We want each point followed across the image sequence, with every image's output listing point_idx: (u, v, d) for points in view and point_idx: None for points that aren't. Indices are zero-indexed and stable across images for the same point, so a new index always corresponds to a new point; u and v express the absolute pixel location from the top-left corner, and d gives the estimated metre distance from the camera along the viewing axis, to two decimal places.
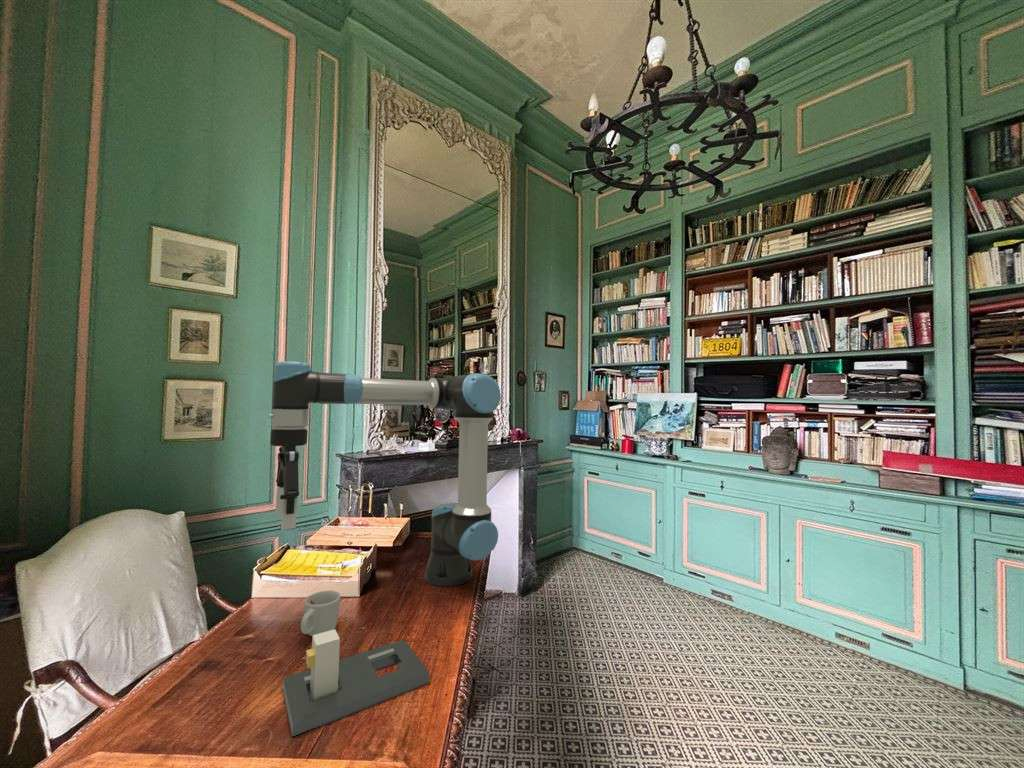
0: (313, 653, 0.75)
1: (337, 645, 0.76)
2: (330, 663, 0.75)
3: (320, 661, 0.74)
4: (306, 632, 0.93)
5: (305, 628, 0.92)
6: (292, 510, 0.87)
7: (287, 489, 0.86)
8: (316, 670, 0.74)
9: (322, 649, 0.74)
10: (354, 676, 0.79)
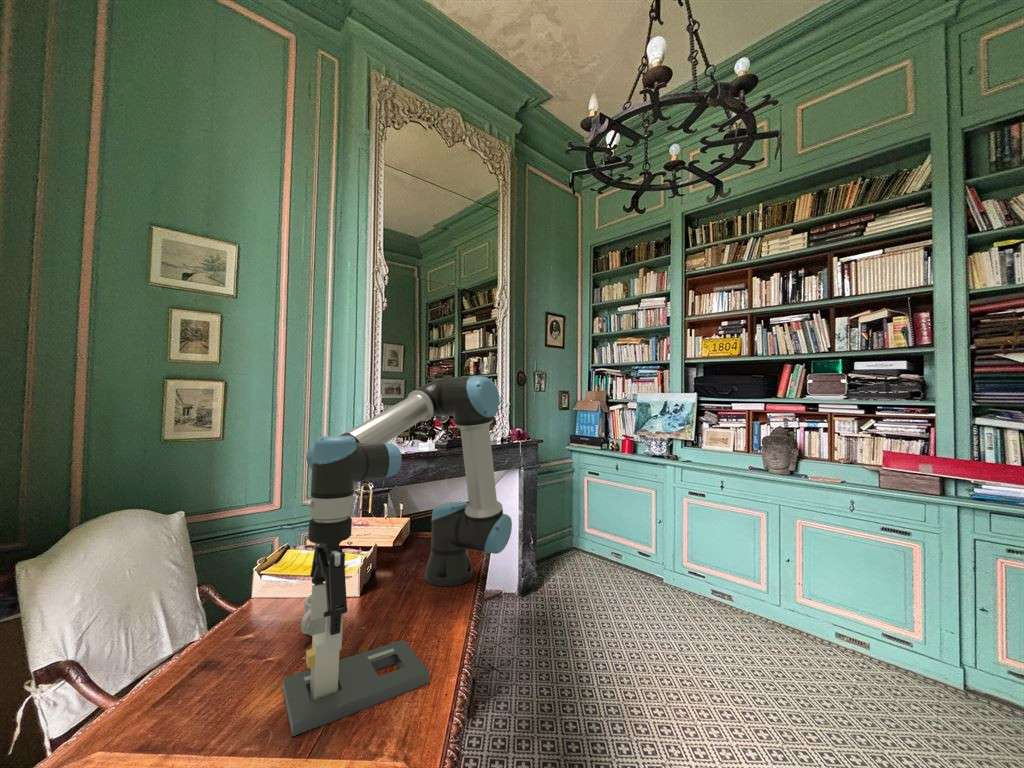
0: (313, 653, 0.75)
1: None
2: (330, 663, 0.75)
3: (320, 661, 0.74)
4: (306, 632, 0.93)
5: (305, 628, 0.92)
6: (338, 629, 0.70)
7: (333, 605, 0.69)
8: (316, 670, 0.74)
9: (322, 649, 0.74)
10: (354, 676, 0.79)
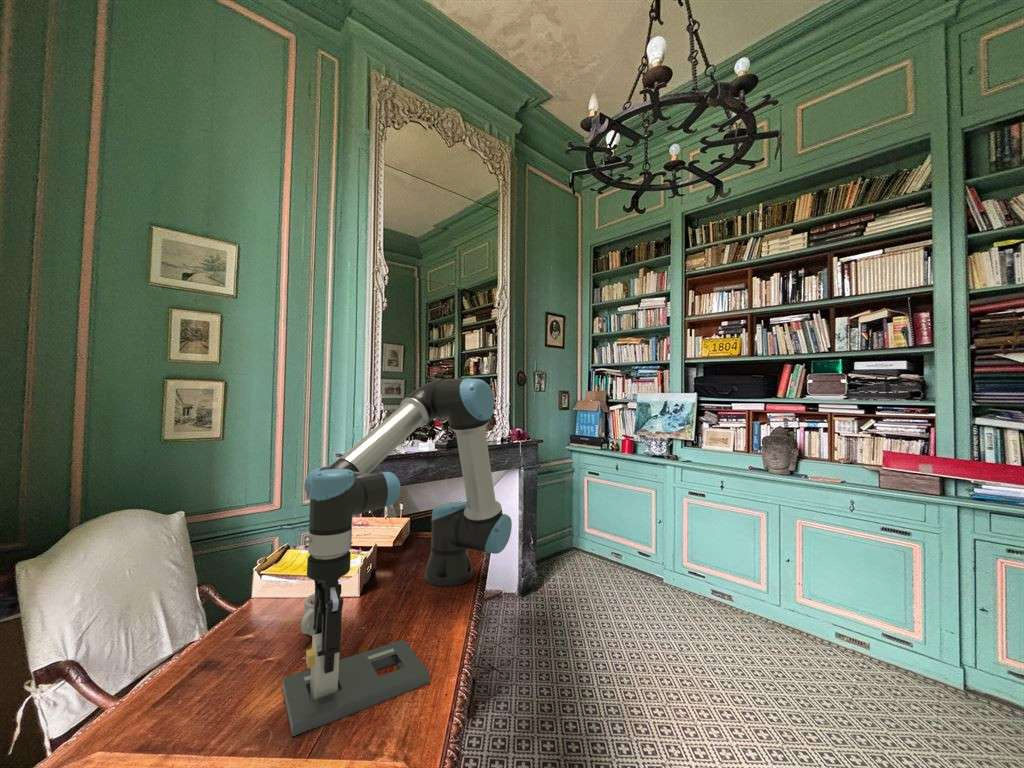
0: (313, 653, 0.75)
1: None
2: None
3: None
4: (306, 632, 0.93)
5: (305, 628, 0.92)
6: (332, 668, 0.74)
7: (327, 648, 0.72)
8: (316, 670, 0.74)
9: None
10: (354, 676, 0.79)
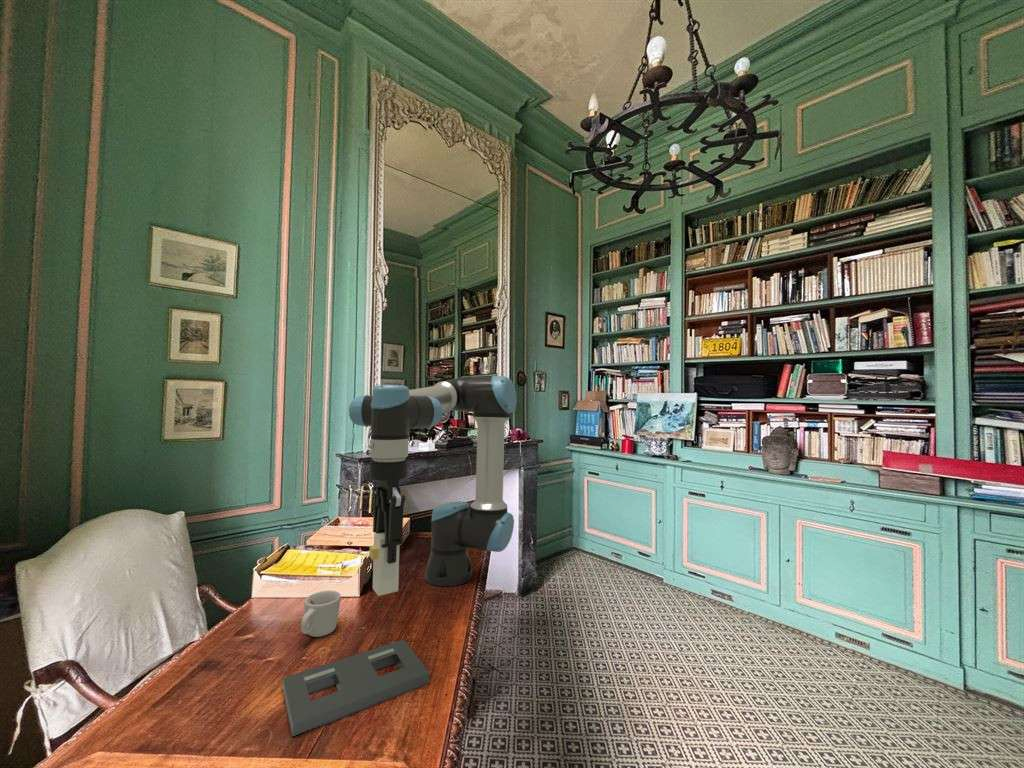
0: (376, 547, 0.82)
1: None
2: None
3: None
4: (306, 632, 0.93)
5: (305, 628, 0.92)
6: (394, 559, 0.81)
7: (391, 539, 0.79)
8: (380, 561, 0.81)
9: (384, 543, 0.82)
10: (354, 676, 0.79)
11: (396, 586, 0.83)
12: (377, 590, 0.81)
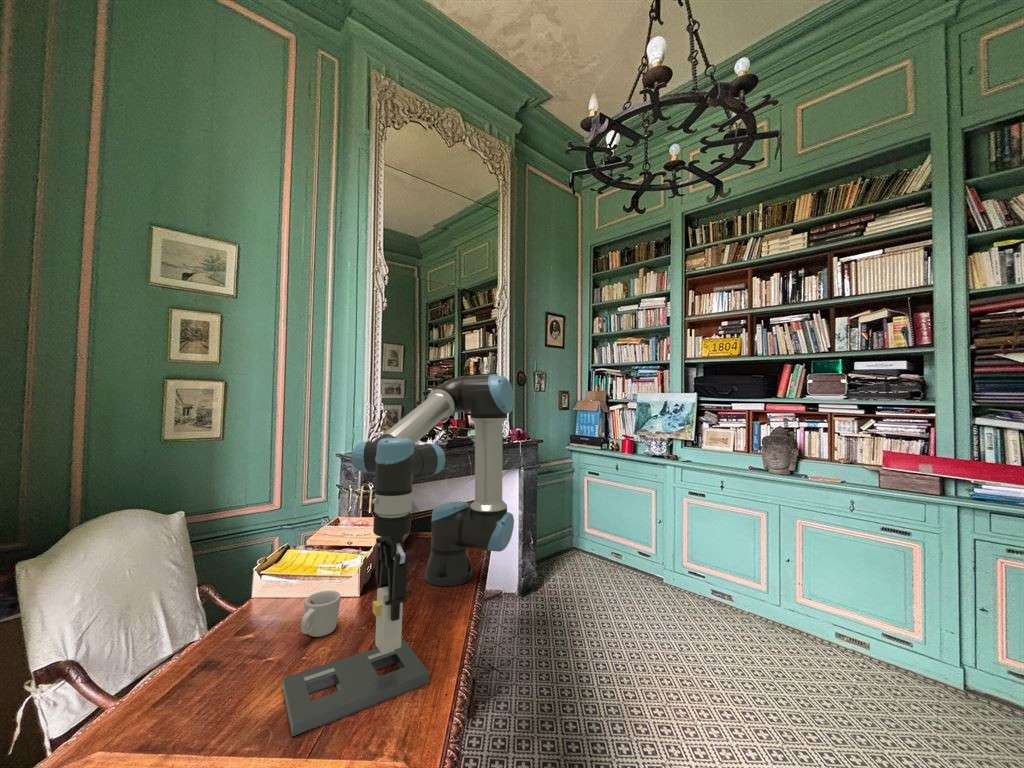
0: (379, 603, 0.82)
1: None
2: None
3: None
4: (306, 632, 0.93)
5: (305, 628, 0.92)
6: (398, 616, 0.81)
7: (395, 597, 0.79)
8: (383, 618, 0.81)
9: (388, 599, 0.82)
10: (354, 676, 0.79)
11: (399, 642, 0.83)
12: (380, 647, 0.81)
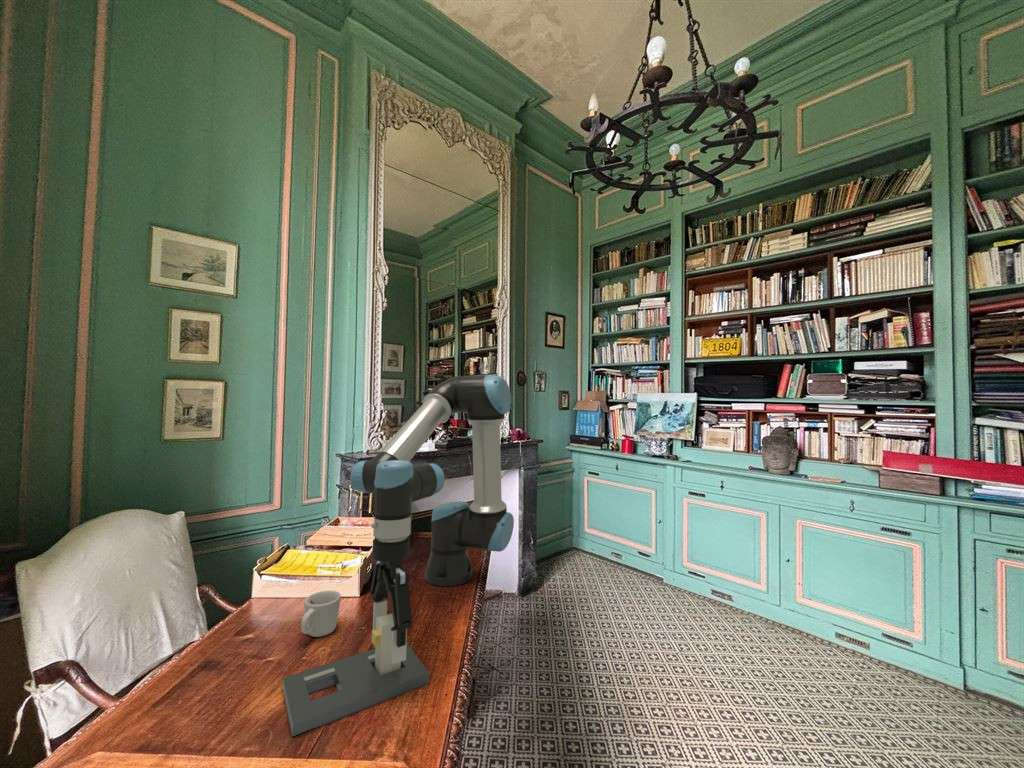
0: (379, 633, 0.82)
1: None
2: None
3: (385, 641, 0.81)
4: (306, 632, 0.93)
5: (305, 628, 0.92)
6: (404, 642, 0.78)
7: (401, 621, 0.76)
8: (382, 648, 0.81)
9: (387, 629, 0.81)
10: (354, 676, 0.79)
11: None
12: None
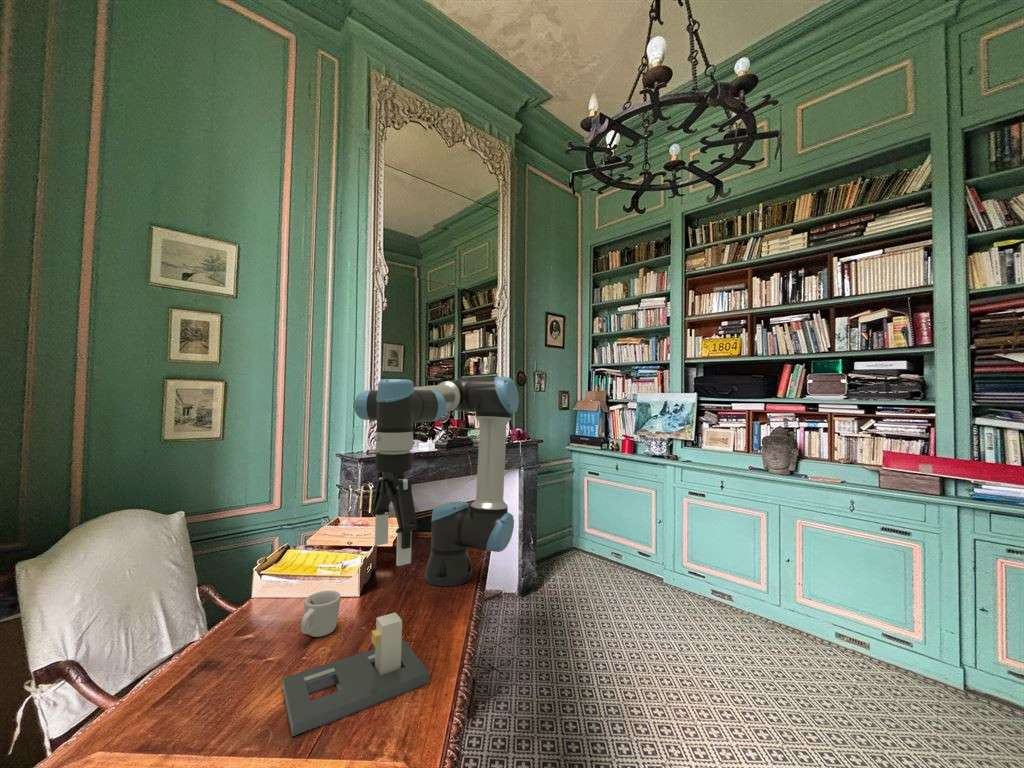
0: (379, 633, 0.82)
1: (400, 626, 0.83)
2: (394, 642, 0.82)
3: (385, 641, 0.81)
4: (306, 632, 0.93)
5: (305, 628, 0.92)
6: (409, 544, 0.79)
7: (405, 522, 0.78)
8: (382, 648, 0.81)
9: (387, 629, 0.81)
10: (354, 676, 0.79)
11: None
12: None
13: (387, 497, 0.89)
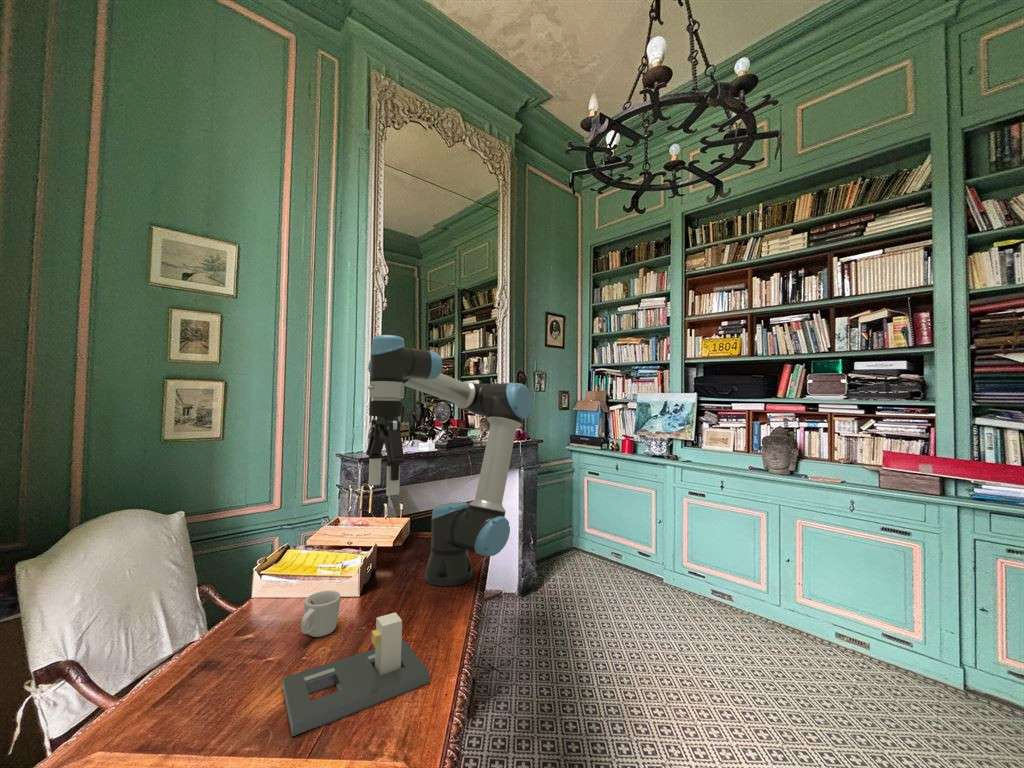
0: (379, 633, 0.82)
1: (400, 626, 0.83)
2: (394, 642, 0.82)
3: (385, 641, 0.81)
4: (306, 632, 0.93)
5: (305, 628, 0.92)
6: (397, 477, 0.90)
7: (394, 456, 0.89)
8: (382, 648, 0.81)
9: (387, 629, 0.81)
10: (354, 676, 0.79)
11: None
12: None
13: (380, 442, 1.01)
